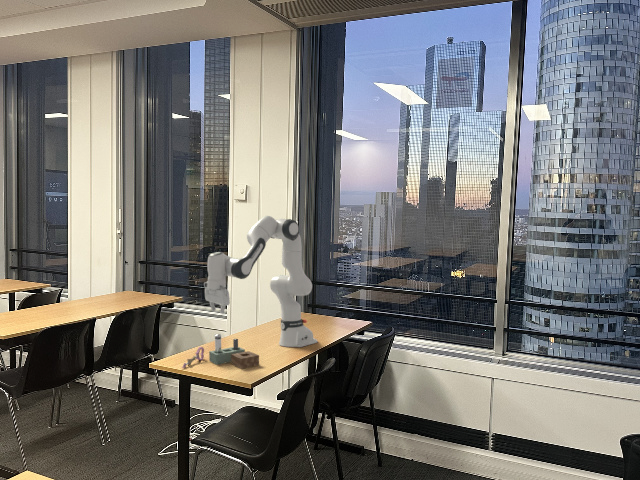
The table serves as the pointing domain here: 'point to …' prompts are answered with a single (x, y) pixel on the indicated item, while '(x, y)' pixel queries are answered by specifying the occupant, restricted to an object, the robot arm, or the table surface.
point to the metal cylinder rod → (217, 343)
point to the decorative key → (195, 357)
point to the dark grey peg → (235, 344)
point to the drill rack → (223, 355)
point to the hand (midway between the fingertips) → (217, 312)
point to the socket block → (245, 359)
